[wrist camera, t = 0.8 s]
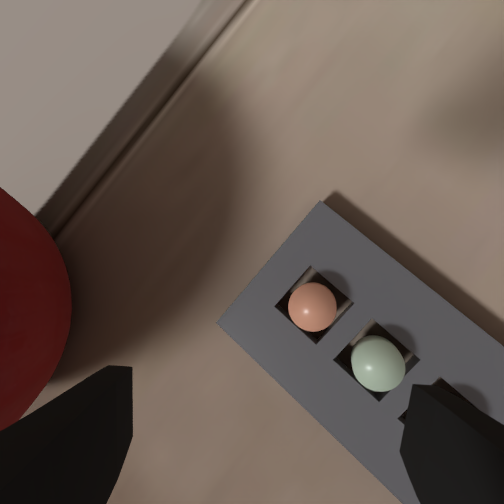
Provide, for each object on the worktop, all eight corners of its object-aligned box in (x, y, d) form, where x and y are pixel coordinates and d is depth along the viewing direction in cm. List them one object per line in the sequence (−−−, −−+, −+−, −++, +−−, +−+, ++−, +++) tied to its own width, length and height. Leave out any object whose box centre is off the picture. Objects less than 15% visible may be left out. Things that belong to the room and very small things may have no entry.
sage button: (410, 358, 22) (416, 366, 21) (377, 391, 23) (381, 402, 21) (372, 325, 23) (375, 330, 21) (341, 358, 23) (341, 366, 22)
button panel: (563, 397, 21) (580, 407, 20) (430, 518, 23) (436, 536, 21) (320, 203, 25) (320, 200, 24) (222, 319, 27) (216, 322, 25)
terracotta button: (345, 302, 23) (346, 306, 22) (315, 335, 24) (314, 341, 22) (311, 273, 24) (309, 274, 22) (282, 305, 24) (278, 308, 23)
